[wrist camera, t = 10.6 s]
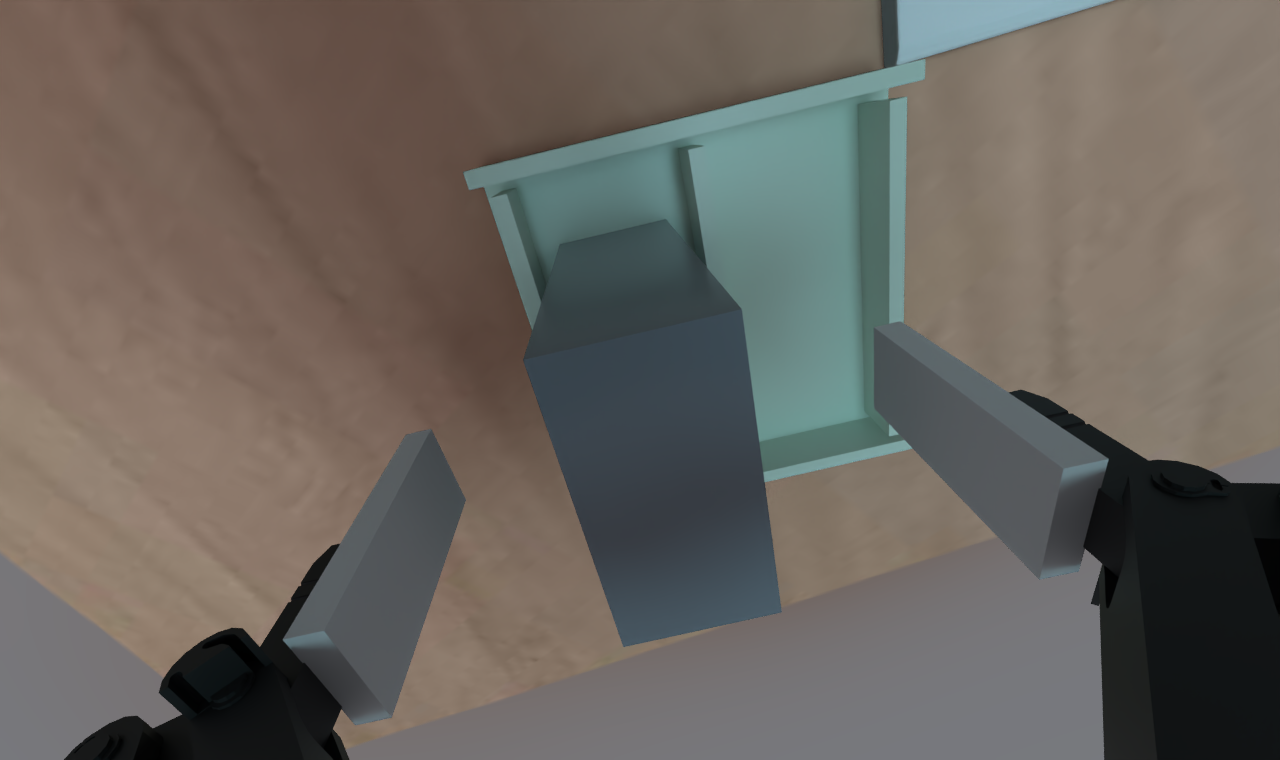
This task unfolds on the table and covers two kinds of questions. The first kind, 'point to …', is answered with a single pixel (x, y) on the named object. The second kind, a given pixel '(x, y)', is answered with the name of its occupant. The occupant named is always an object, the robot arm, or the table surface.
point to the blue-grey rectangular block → (656, 431)
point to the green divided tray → (754, 240)
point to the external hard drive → (960, 23)
